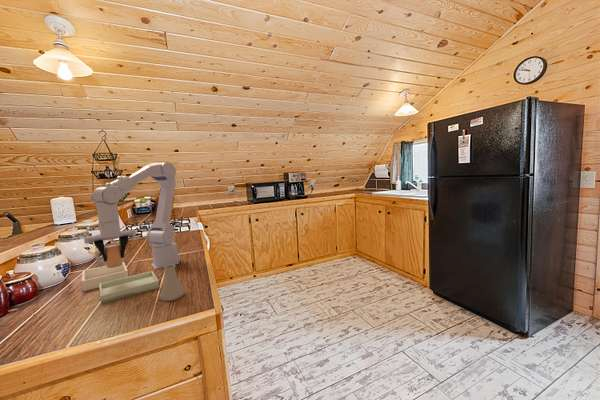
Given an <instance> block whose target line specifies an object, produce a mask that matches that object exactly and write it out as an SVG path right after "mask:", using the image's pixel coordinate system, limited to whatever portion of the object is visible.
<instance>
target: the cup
mask: <svg viewBox="0 0 600 400" xmlns="http://www.w3.org/2000/svg"><path fill="white" fill-rule="evenodd" d="M110 245H120V242H115V243H114V242H113V243H108V244H104V250H105V247H107V246H110ZM100 254H101V253H100V251H99V250H98V249H97V250H96V251H95V253H94V259H95V261H96V262H97V263H98V264H100V265H101V264H102V266H107V262H106V261H105V262H104V259H103V257H102V256H101V257H100ZM122 262H124V258H122Z"/></svg>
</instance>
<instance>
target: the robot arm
mask: <svg viewBox="0 0 600 400" xmlns="http://www.w3.org/2000/svg"><path fill="white" fill-rule="evenodd" d="M176 173H177V168H176V167H175V166H174V164H173V163H172V162H170V161H165V162H150V163H149V164H145V165H144V167H142V168H140V169H139V170H137V171H136V172H134V173H132V174H131V175H130V176H126V175H118V176H117V177H116V179H114V180H113V181H111V182H106V183H105V185H104V186H100V187H97V188H95V189H94V190H93V191H92V195H91V196H90V199H91V200H92V202H93V203H94V204H95V208H96V213H97V217H98V218H97V221H98V226H99V227H98V228H99V234H94V235H90V236H86V237H85V236H84V237H83V241H84V245H87V244H91V243H93V245H94V246H95V248H97V250H99V251H100V254H101V258H102V257H103V259H104V262H105V261H107V260H106V255H105V250H104V245H105V244H104V241H108V240H114V239H118V241H119V242H118V243H120V250H121V258H123V259H124V258H125V250H126V247H127V244H128V242H129V240H130V237H135V236H137V232H136V229H128V230H121V225H120V217H119V209H118V208H119V206H118V202H120V200H121V197H123V196H124V195H126V194H127V193H129V192H131V191H132V190H134V189H135V186H136V185H137V184H138V183H140V182H141V181H144V180H146V179H148V178H149V177H150V178H151V179H153V180H154V181H155V182H156V183H157V184H159V185H160V190H159V191H160V192H159V197H158V202H157V209H156V215H155V220H154V222H153V223H151V225H150V227H149V229H148V231H147V233H146V241H147V243H149V244H150V247H151V253H152V262H153V263H151V266H152V267H153V268H154V270H156V269H160V268H164V267H165V266H167V265H178V264H180V261H179V252H178V245H177V243H176V241H175V242H173V241H174V240H175V233H174V230H175V228H174V226H173V225H172V224H171V222H170V221H171V215H172V208H173V204H174V203H173V202H174V196H175V190H176Z"/></svg>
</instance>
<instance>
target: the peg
mask: <svg viewBox="0 0 600 400" xmlns="http://www.w3.org/2000/svg"><path fill="white" fill-rule="evenodd" d="M105 255H106V260H107V261H106V262H107V268H113V267H118V266H120V265H122V258H121V250H120V245H110V246H107V247H105Z"/></svg>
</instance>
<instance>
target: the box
mask: <svg viewBox="0 0 600 400" xmlns="http://www.w3.org/2000/svg"><path fill="white" fill-rule="evenodd" d="M125 277H129V272H128V269H127V265H126V263H125V262H124V261H123V262H122V265H120V266H118V267H113V268H107V266H103V265H102V266H98V267H92V268H88V269H84V270H82V275H81V285H82V286H81V287H82V291H83V292H87V291H89V290H90V291H91V290H95V289H98V288H99V284H101V283H105V282H109V281H113V280H117V279H121V278H125ZM99 289H100V288H99Z"/></svg>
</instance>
